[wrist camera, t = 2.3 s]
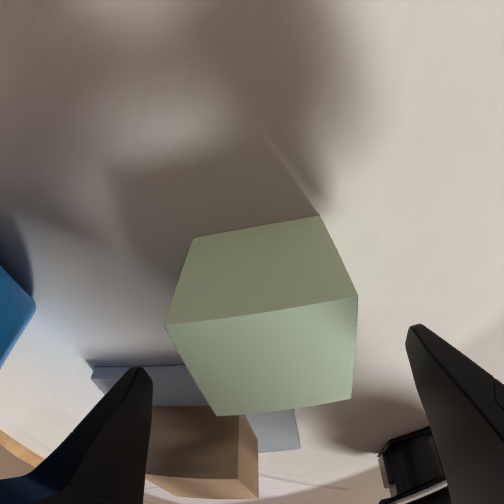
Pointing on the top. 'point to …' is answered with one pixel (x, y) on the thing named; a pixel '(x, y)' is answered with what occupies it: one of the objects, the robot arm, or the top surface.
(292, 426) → the mat
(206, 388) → the sage cube
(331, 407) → the top surface
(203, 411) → the walnut block
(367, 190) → the top surface
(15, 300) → the alarm clock
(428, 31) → the top surface
